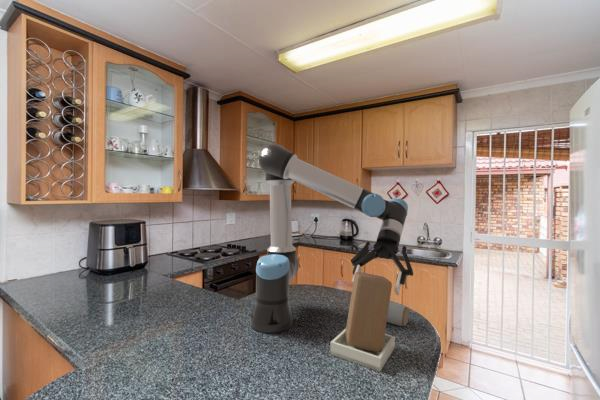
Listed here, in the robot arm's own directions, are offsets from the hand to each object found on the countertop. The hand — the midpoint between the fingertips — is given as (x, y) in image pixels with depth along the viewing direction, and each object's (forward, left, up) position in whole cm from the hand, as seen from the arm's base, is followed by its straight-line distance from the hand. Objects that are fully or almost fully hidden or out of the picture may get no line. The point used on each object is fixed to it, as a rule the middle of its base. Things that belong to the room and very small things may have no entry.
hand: (374, 288), depth 90 cm
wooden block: (-1, -6, -15) cm, 17 cm away
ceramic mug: (+2, +21, -18) cm, 27 cm away
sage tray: (-1, -6, -18) cm, 18 cm away
